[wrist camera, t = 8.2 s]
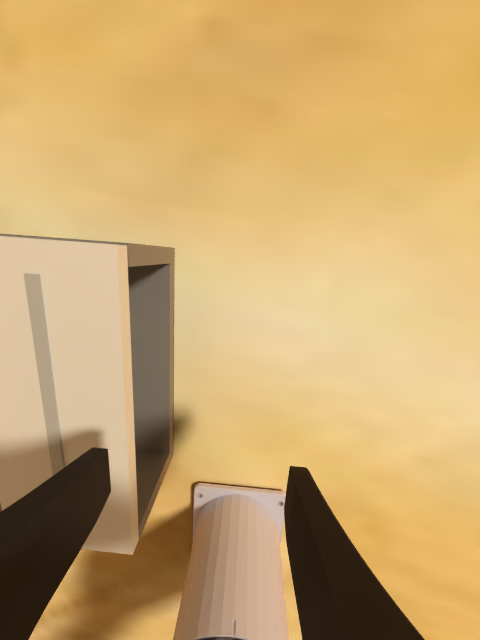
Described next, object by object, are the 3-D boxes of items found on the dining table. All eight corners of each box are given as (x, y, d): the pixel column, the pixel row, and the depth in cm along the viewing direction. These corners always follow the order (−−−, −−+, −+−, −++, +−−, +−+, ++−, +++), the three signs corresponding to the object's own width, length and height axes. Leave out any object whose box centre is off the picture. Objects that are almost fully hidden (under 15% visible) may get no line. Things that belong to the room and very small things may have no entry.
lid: (138, 539, 15) (131, 557, 14) (21, 526, 15) (6, 543, 14) (126, 245, 11) (115, 244, 10) (-37, 233, 11) (-62, 231, 10)
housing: (173, 454, 21) (139, 538, 15) (-30, 434, 22) (-147, 508, 15) (174, 248, 17) (127, 243, 11) (-78, 229, 18) (-267, 213, 11)
